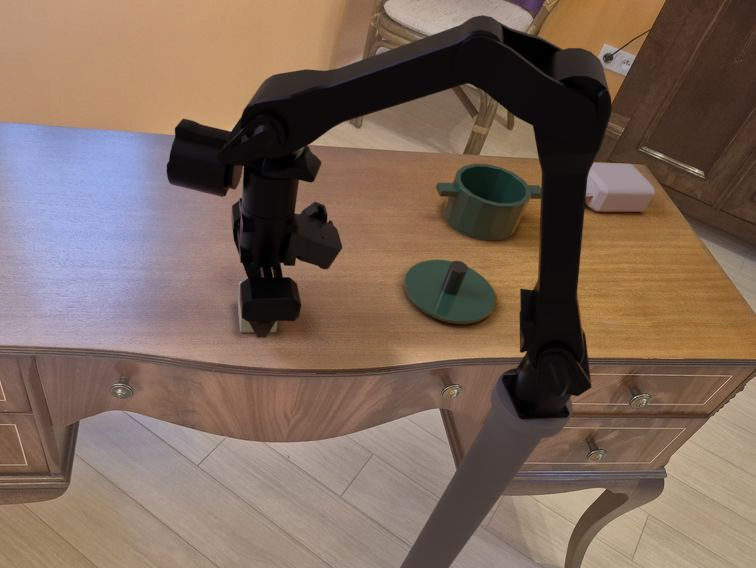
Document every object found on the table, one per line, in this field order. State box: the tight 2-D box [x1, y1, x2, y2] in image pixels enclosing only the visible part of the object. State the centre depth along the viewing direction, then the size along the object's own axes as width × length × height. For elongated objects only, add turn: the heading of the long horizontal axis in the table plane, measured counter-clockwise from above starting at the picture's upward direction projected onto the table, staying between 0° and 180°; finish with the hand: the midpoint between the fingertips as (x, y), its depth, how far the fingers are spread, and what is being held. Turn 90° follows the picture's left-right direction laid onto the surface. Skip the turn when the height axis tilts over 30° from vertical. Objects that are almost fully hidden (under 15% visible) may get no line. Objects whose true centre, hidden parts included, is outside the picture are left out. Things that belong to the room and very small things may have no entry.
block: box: [237, 280, 279, 333], centre depth 76 cm, size 4×4×4 cm
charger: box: [585, 162, 656, 213], centre depth 105 cm, size 5×9×15 cm
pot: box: [435, 163, 541, 242], centre depth 96 cm, size 12×17×6 cm
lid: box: [403, 259, 497, 325], centre depth 83 cm, size 13×13×5 cm
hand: (258, 309), depth 76 cm, fingers open, 9 cm apart
